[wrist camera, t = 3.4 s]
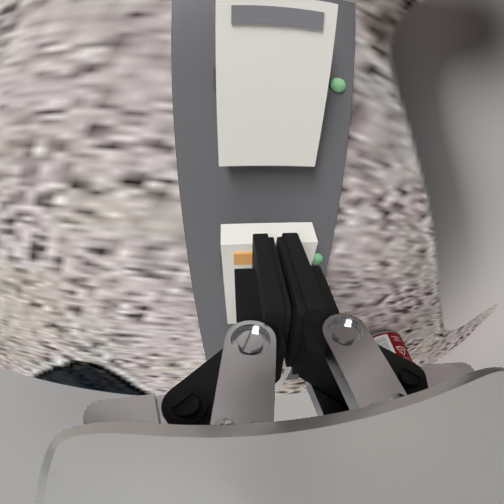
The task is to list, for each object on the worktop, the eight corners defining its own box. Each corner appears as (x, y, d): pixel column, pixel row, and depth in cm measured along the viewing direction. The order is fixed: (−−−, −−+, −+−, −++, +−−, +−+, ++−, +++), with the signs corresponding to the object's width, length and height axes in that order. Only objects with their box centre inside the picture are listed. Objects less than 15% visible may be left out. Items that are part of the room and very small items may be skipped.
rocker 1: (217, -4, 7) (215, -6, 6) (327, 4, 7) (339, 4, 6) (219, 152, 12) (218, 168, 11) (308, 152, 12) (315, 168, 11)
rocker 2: (220, 224, 12) (220, 247, 11) (312, 222, 12) (318, 244, 11) (227, 306, 17) (227, 325, 16) (290, 303, 18) (293, 322, 17)
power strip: (190, -62, 7) (179, -97, 3) (325, -56, 8) (353, -84, 4) (212, 349, 27) (211, 389, 23) (291, 345, 27) (299, 384, 24)
